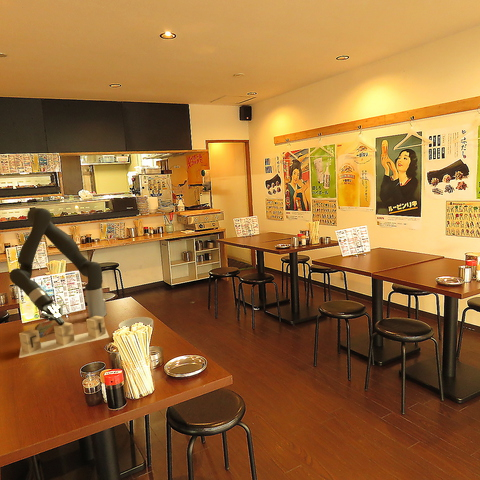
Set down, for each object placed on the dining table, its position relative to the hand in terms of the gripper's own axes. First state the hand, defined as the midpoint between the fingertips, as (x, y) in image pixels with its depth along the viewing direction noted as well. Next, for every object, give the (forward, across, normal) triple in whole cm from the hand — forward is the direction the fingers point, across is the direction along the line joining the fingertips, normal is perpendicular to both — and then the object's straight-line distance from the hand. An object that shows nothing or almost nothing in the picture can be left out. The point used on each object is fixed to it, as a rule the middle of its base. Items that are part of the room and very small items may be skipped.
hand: (62, 323), depth 193 cm
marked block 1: (+14, +11, 0) cm, 18 cm away
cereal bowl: (+29, +17, -13) cm, 36 cm away
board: (+7, 0, +8) cm, 11 cm away
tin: (-6, +8, +20) cm, 22 cm away
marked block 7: (0, -11, +14) cm, 18 cm away
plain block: (+7, 0, +7) cm, 10 cm away
